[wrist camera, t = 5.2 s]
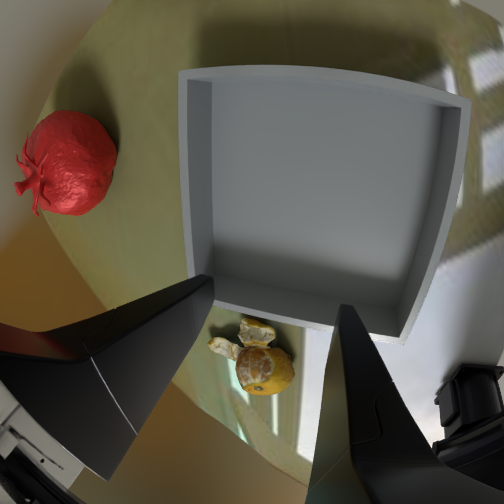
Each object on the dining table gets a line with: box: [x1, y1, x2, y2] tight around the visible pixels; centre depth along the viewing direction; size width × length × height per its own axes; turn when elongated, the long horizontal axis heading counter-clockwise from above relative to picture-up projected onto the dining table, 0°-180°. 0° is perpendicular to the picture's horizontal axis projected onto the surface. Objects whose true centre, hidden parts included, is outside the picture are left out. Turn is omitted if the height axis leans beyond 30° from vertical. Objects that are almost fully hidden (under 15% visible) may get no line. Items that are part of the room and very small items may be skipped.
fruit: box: [207, 318, 295, 395], centre depth 26 cm, size 8×8×4 cm
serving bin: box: [178, 65, 472, 345], centre depth 17 cm, size 16×16×4 cm
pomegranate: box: [14, 110, 117, 218], centre depth 20 cm, size 10×10×9 cm
